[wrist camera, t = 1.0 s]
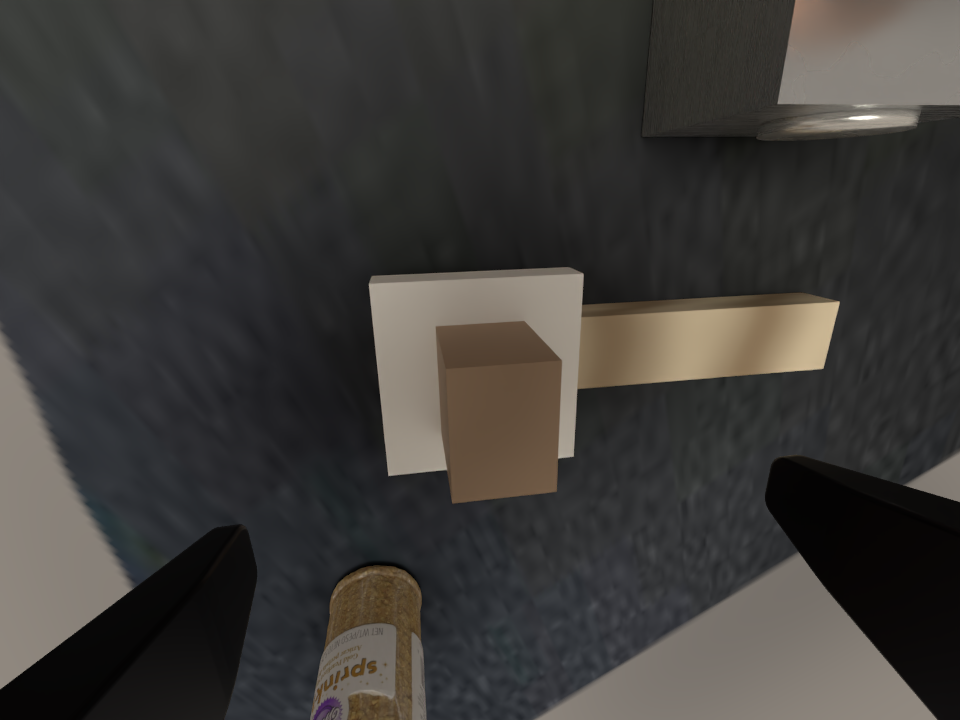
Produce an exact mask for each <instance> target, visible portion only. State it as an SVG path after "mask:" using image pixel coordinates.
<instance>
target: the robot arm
mask: <svg viewBox="0 0 960 720" xmlns="http://www.w3.org/2000/svg"><path fill="white" fill-rule="evenodd" d="M765 502H766V505H767V508H768V510H769V511H770V513H771V514H772V515H773V517H774V518H775V520H776V521H777V522H778V524H779V525H780V527H781V528H782V529H783V531H784V532H785V533H786V535H787V536H788V538H789V539H790V540H791V542H792V543H793V545H794V546H795V547H796V549H797V550H798V551H799V553H800V554H801V556H802V557H803V558H804V560H805V561H806V563H807V564H808V565H809V567H810V568H811V569H812V571H813V572H814V573H815V575H816V576H817V578H818V579H819V580H820V581H821V583H822V584H823V586H824V587H825V588H826V589H827V591H828V592H829V593H830V594H831V595H832V597H833V598H834V599H835V600H836V601H837V603H838V604H839V605H840V606H841V607H842V608H843V609H844V611H845V612H846V613H847V614H848V616H849V617H850V618H851V619H852V620H853V621H854V623H855V624H856V625H857V626H858V627H859V628H860V630H861V631H862V632H863V633H864V634H865V635H866V637H867V638H868V639H869V640H870V641H871V642H872V644H874V646H875V647H876V648H877V650H878V651H880V653H881V654H882V655H883V657H884V658H885V659H886V660H887V661H888V662H889V664H890V665H891V666H892V667H893V668H894V669H895V671H896V672H897V673H898V674H899V675H900V677H901V678H902V679H903V680H904V681H905V682H906V683H907V685H908V686H909V687H910V688H911V689H912V691H913V692H914V693H915V694H916V695H917V696H918V698H919V699H920V700H921V701H922V702H923V703H924V705H925V706H926V707H927V708H928V709H929V711H930V712H931V713H932V714H933V715H934V716H935V718H936V719H937V720H960V502H958V501H954V500H951V499H947V498H944V497H940V496H937V495H934V494H930V493H927V492H924V491H920V490H917V489H913V488H910V487H907V486H903V485H900V484H897V483H893V482H890V481H886V480H883V479H880V478H876V477H873V476H869V475H866V474H863V473H859V472H856V471H852V470H849V469H846V468H842V467H839V466H836V465H832V464H829V463H825V462H822V461H819V460H815V459H812V458H808V457H805V456H801V455H791V456H783V457H778V458H776V459H775V460H774V461H773V462H772V464H771V468H770V473H769V478H768V483H767V488H766V492H765ZM256 582H257V566H256V562H255V558H254V553H253V549H252V545H251V541H250V537H249V533H248V530H247V529H246V527H245V526H243V525H242V524H238V525H230V526H222V527H216V528H214V529H212V530H211V531H210V532H208V533H207V534H206V535H204V536H203V537H202V538H200V539H199V540H198V541H196V542H195V543H194V544H192V545H191V546H190V547H188V548H187V549H186V550H184V551H183V552H182V553H180V554H179V555H178V556H176V557H175V558H174V559H172V560H171V561H170V562H169V563H167V564H166V565H165V566H163V567H162V568H161V569H159V570H158V571H157V572H155V573H154V574H153V575H151V576H150V577H149V578H147V579H146V580H145V581H143V582H142V583H141V584H139V585H138V586H137V587H135V588H134V589H133V590H131V591H130V592H129V593H127V594H126V595H125V596H124V597H122V598H121V599H120V600H118V601H117V602H116V603H114V604H113V605H112V606H110V607H109V608H108V609H106V610H105V611H104V612H102V613H101V614H100V615H98V616H97V617H96V618H94V619H93V620H92V621H90V622H89V623H88V624H86V625H85V626H84V627H82V628H81V629H80V630H78V631H77V632H76V633H74V634H73V635H72V636H71V637H69V638H68V639H66V640H65V641H64V642H62V643H61V644H60V645H59V646H57V647H56V648H55V649H53V650H52V651H51V652H49V653H48V654H47V655H45V656H44V657H43V658H41V659H40V660H39V661H37V662H36V663H35V664H33V665H32V666H31V667H30V668H28V669H27V670H25V671H24V672H23V673H22V674H20V675H19V676H18V677H16V678H15V679H13V680H12V681H11V682H9V683H8V684H7V685H5V686H4V687H3V688H1V689H0V720H224V718H225V715H226V712H227V709H228V706H229V703H230V699H231V696H232V692H233V689H234V685H235V681H236V677H237V672H238V668H239V663H240V658H241V654H242V649H243V644H244V639H245V635H246V630H247V625H248V620H249V616H250V611H251V606H252V601H253V596H254V592H255V587H256Z"/></svg>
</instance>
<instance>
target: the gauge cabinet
mask: <svg viewBox="0 0 960 720" xmlns="http://www.w3.org/2000/svg"><path fill="white" fill-rule="evenodd" d="M959 117H960V0H654V1H653V13H652V24H651V35H650V46H649V58H648V69H647V80H646V91H645V103H644V114H643V125H642V136H641V137H726V136H757V138H756V139H758V140H767V141H795V140H818V139H834V138H847V137H859V136H869V135H879V134H887V133H894V132H901V131H907V130H911V129H915V128H917V124H918V123H922V122H930V121H937V120H944V119H951V118H959Z"/></svg>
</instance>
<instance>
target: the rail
mask: <svg viewBox="0 0 960 720" xmlns="http://www.w3.org/2000/svg"><path fill="white" fill-rule="evenodd" d="M839 303H840V302H839V301H835V300H831V299H827V298H822V297H818V296H814V295H810V294H806V293H802V292H799V293H782V294H764V295H747V296H729V297H712V298H694V299H676V300H659V301H641V302H624V303H606V304H588V305H582V313H581V331H580V349H579V367H578V385H577V389H584V388H596V387H608V386H620V385H632V384H644V383H656V382H668V381H680V380H693V379H705V378H717V377H729V376H741V375H753V374H765V373H777V372H789V371H801V370H813V369H823V368H824V364H825V360H826V356H827V352H828V348H829V344H830V340H831V335H832V331H833V327H834V323H835V319H836V315H837V311H838V307H839Z"/></svg>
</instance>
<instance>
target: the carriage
mask: <svg viewBox="0 0 960 720" xmlns="http://www.w3.org/2000/svg"><path fill="white" fill-rule="evenodd" d="M583 277H584V274H583V273H581V272H579V271H577V270H574V269H572V268H570V267H560V268H537V269H515V270H493V271H471V272H449V273H426V274H404V275H382V276H372V277H371V279H370V282H369V291H370V301H371V310H372V320H373V330H374V340H375V349H376V359H377V369H378V379H379V389H380V398H381V408H382V418H383V428H384V438H385V447H386V457H387V467H388V476H392V475H401V474H411V473H421V472H430V471H440V470H447V473H448V479H449V486H450V492H451V498H452V504H453V503H462V502H470V501H479V500H488V499H497V498H506V497H514V496H523V495H532V494H541V493H550V492H557V470H558V458H566V457H574V439H575V421H576V403H577V385H578V367H579V349H580V331H581V313H582V295H583Z"/></svg>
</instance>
